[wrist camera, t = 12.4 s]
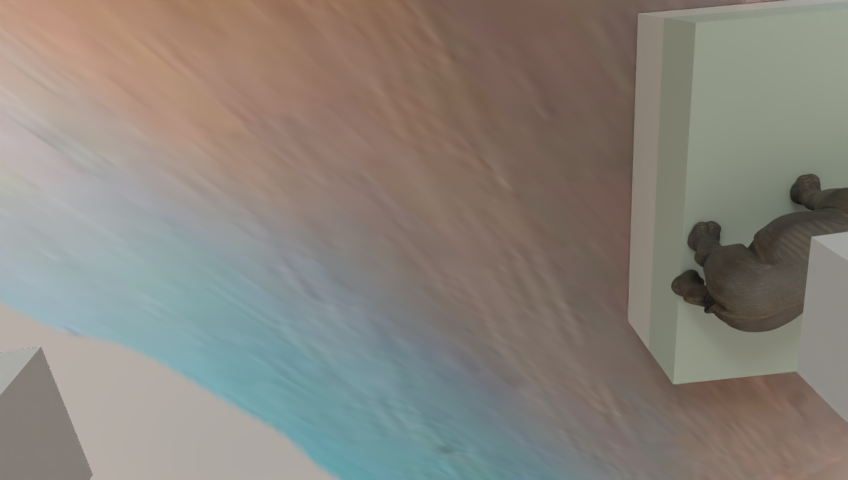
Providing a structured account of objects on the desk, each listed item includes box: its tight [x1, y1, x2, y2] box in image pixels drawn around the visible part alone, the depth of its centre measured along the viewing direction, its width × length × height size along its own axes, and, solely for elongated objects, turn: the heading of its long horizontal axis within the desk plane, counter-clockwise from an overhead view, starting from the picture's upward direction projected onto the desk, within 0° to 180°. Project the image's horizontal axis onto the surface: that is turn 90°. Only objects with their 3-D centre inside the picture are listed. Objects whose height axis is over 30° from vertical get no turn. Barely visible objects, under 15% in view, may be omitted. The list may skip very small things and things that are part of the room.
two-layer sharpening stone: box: [628, 0, 848, 384], centre depth 36 cm, size 18×10×7 cm, turn 5°
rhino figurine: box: [671, 174, 848, 332], centre depth 30 cm, size 4×14×6 cm, turn 117°
